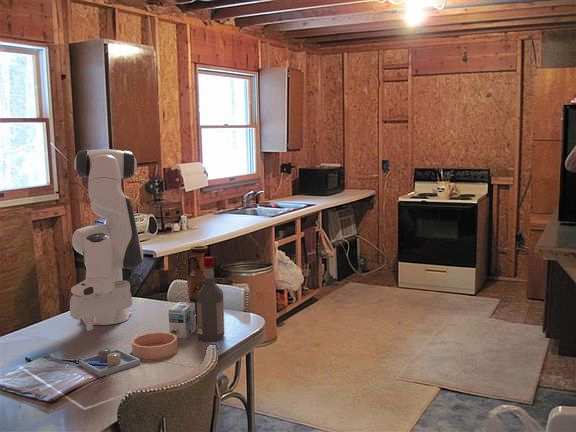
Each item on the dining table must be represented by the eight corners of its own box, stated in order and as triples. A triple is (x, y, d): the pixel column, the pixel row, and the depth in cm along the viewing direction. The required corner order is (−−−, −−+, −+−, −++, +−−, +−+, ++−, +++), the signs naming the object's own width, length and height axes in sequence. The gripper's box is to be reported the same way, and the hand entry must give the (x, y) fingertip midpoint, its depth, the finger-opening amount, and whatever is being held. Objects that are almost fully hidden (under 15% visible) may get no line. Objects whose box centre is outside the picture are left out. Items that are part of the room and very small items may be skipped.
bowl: (124, 352, 206) (123, 340, 205) (161, 341, 216) (160, 329, 216) (148, 363, 195) (147, 350, 195) (186, 351, 206) (185, 339, 205)
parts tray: (79, 366, 194) (78, 360, 194) (118, 355, 204) (117, 348, 203) (100, 378, 184) (100, 371, 184) (140, 365, 194) (140, 359, 194)
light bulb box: (186, 338, 219) (185, 310, 217) (169, 338, 220) (167, 309, 219) (196, 329, 229) (195, 302, 228) (180, 328, 231) (178, 301, 229)
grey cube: (96, 362, 196) (95, 350, 195) (107, 358, 199) (106, 347, 198) (102, 365, 193) (101, 353, 193) (113, 361, 196) (113, 350, 195)
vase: (218, 317, 244) (215, 244, 240) (212, 325, 234) (209, 249, 230) (192, 316, 245) (189, 244, 241) (184, 325, 235) (181, 249, 231)
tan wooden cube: (105, 367, 192) (104, 355, 191) (116, 363, 195) (116, 351, 194) (111, 370, 189) (111, 358, 188) (123, 366, 192) (122, 354, 191)
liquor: (224, 333, 224) (222, 254, 220) (223, 342, 215) (220, 259, 211) (200, 334, 224) (197, 255, 219) (197, 342, 215) (194, 260, 210)
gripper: (124, 277, 202) (126, 317, 204) (66, 289, 187) (69, 331, 189) (134, 280, 197) (136, 320, 199) (75, 292, 183) (78, 336, 185)
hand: (103, 326), depth 194 cm, fingers open, 8 cm apart
